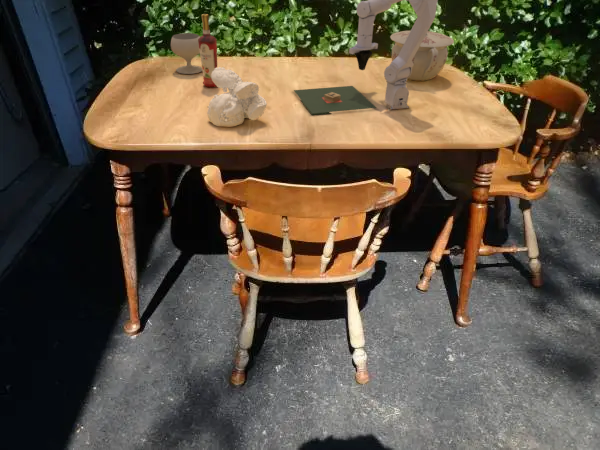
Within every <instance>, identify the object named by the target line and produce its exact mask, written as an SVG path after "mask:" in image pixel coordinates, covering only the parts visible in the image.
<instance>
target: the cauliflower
mask: <svg viewBox="0 0 600 450" xmlns="http://www.w3.org/2000/svg"><path fill="white" fill-rule="evenodd" d="M211 78H212V81H213V82H214V83H215V85H216V87H217V88H218V89H221V90H222V92H223V93H221V94H214V95H213V97H212V99H210V101H209V103H208V106H207V111H206V114H207V115H206V116H207V119H208V121H209V122H210V123H212V125H214V126H216V127H221V128H223V127H226V128H227V127H228V128H232V127H236V126H237V127H238V126H239V125H242V124H244V121H245V119H249V120H250V121H256V120H258V119H259V118H260V117H262V115H264V112H265V110H266V108H267V106H268V103H267V100H266V99H265V98H264V97H263V96H262V95H260V94H259V90H260V86H259V84H257V83H256V82H252V81H243V80H242V77H241V76H240V75H239V74H237V73H236V71H234V70H232V69H226V68H225V67H223V66H222V67H221V66H217V67H216V68H215V69H214V71H212V74H211Z"/></svg>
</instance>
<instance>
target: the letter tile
mask: <svg viewBox="0 0 600 450" xmlns="http://www.w3.org/2000/svg"><path fill="white" fill-rule="evenodd" d="M324 100H327V101H329V102H332V103H333V102H336V101H339V100H340V95H339V94H336V93H333V92H331V93H328V94H325V95H324Z"/></svg>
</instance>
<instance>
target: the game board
mask: <svg viewBox="0 0 600 450" xmlns="http://www.w3.org/2000/svg"><path fill="white" fill-rule="evenodd" d="M293 91H294V93H295V95H297V97H298V98H299V101H300V103H301V104H302V105H303V106H304V107H305V109H306V110H307V111H308V112H309V114H310V115H311V116H320V115H321V116H322V115H332V114H333V113H334V112H345V111H346V112H347V111H357V110H368V109H377V106H376V105H374V104H373V103H372V102H371V101H370V100H369V99H368V98H367V97H365V96H364V95H363V94H362V92H360V91H359V90H358V89H357V88H355V87H354V86H353V85H346V86H345V85H343V86H332V87H318V88H304V89H293ZM331 92H333V93H336V94H339V95H340V100H341V101H342V102H336V103H326V102H325V101H324V100H323V98H322V97H324V95H325V94H328V93H331Z"/></svg>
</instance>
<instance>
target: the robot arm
mask: <svg viewBox="0 0 600 450" xmlns="http://www.w3.org/2000/svg"><path fill="white" fill-rule="evenodd" d="M400 2H403V0H361V1H360V2H359V3H357V5H356V14H357V16H358V27H357V38H356V43H355V45H354V46H353V47H349V50H348V54H350V55H355V57H356V60H357V66H358V70H360V71H365V69H366V67H367V64H368V62H369V60H370V58H371V56H372V55H373V51H372V50H378V47H379V43H377V42H373V33H374V22H375V20H376V16H377V15H378V14H381V13H384V12H385V11H388V10H390V9H391V8H392V5H394V4H396V3H400ZM405 2H409V4H410V6H411V8H412V9H413V11H414V12H415V14H416V17H417V18H416V19H415V21H414V24H413V25H412V27H411V29H410V30H411V31H410V30H409V31H410V33H409V35H408V37H407V39H406V41H405V43H404V45H403V47H402V49H401V51H400V53H399V55H398V56H397V57H396V58H395V59H394V60H393V61H392V60H391V62H390V64H389V65H388V66H386V67H385V69H384V72H383V76H384V80H385V81H386V88H385V95H384V103H385V105H388V106H390V107H389V108H388V109H389V110H400V109H409V106H408V101H409V94H410V90H409V89H408V87H407V82H408V79H407V78H409V77H410V75H411V72H412V67H413V65H414V64H413V62H412V60H413V58H414V56H415V54H416V52H417V50H418V48H419V47H420V45H421V43H422V41H423V39H424V37H425V35H426V34H427V32H428V31H430V28H431V26H432V24H433V22H434V20H435V18H436V16H437V15H436V14H437V7H438V5H437V4H438V2H439V0H405Z"/></svg>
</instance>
